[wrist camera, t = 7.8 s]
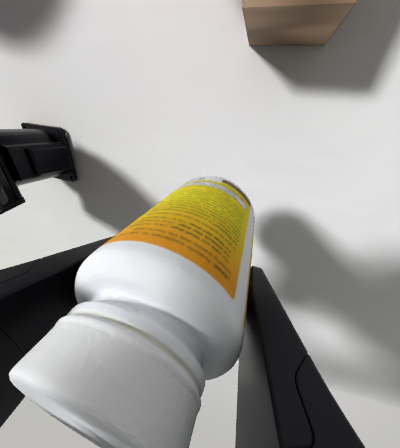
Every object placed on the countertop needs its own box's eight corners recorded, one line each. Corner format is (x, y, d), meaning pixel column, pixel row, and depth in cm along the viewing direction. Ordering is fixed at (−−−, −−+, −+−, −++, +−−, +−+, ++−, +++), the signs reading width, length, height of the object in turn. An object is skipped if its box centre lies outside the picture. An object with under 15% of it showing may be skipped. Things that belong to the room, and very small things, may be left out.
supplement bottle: (164, 183, 12) (-80, 324, 3) (247, 163, 10) (141, 416, 1) (188, 250, 14) (76, 436, 6) (260, 246, 12) (253, 541, 3)
